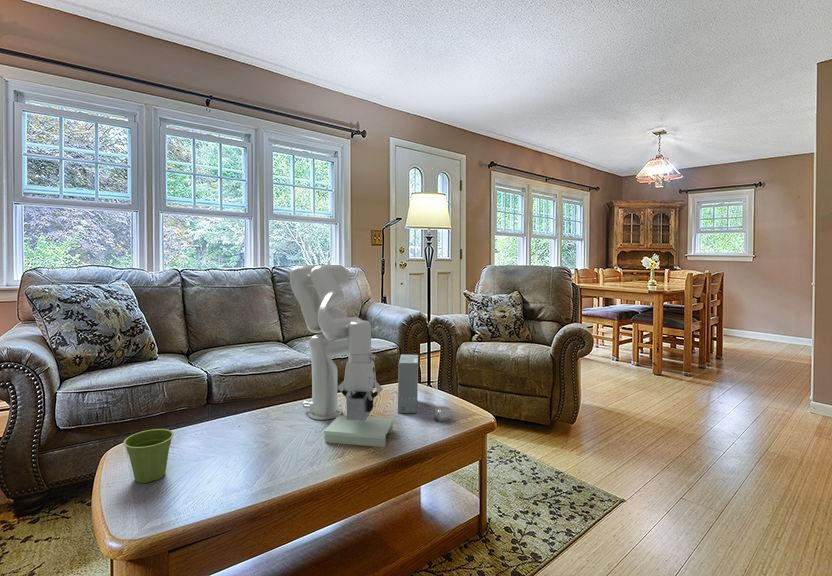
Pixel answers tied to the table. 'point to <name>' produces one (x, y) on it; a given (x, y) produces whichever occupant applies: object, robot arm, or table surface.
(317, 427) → the table surface
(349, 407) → the housing
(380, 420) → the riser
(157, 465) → the plant pot
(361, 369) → the robot arm
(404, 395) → the hard drive box
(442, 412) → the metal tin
